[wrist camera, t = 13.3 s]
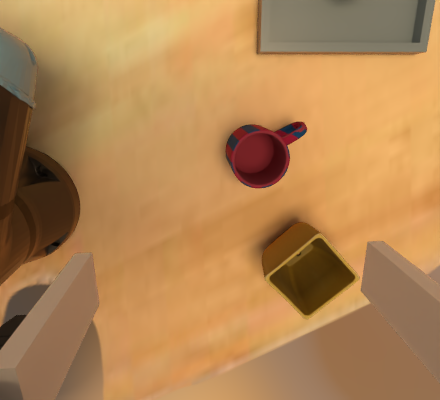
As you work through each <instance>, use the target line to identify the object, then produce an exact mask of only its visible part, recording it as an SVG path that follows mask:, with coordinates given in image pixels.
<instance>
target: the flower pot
mask: <svg viewBox="0 0 440 400" xmlns="http://www.w3.org/2000/svg"><path fill="white" fill-rule="evenodd" d="M299 252H300V255H297V254H298V253H299ZM262 266H263V272H264V277H265V281H266V282H267V283H268V284H269V285H270V286H271V287H273V288H274V289H275V290H276V291H277V292H278V293H279V294H280V295H281V296H282V297H283V298H284V299H285V300H286V301H287V302H288V303H289V304H290V305H291V306H292V307H293V308H294V309H295V310H296V311H297V312H298V313H299V314H300V315H301V316H302V317H303V318H305V319H309V318H311V317H312V316H313V315H315V314H316V313H317V312H318V311H320V310H321V309H322V308H323V307H325V306H326V305H327V304H329V303H330V302H331V301H332V300H334V299H335V298H336V297H338V296H339V295H340V294H342V293H343V292H344V291H346V290H347V289H348V288H349V287H351V286H352V285H353V284H355V283H356V282H357V281H358V280H359V279H360V277H359V275H358V274H357V273H356V272H355V271H354V270H353V268H352V267H351V266H350V265H349V264H348V263H347V262H346V261H345V260H344V258H343V257H342V256H341V255H340V254H339V253H338V252H337V250H336V249H335V248H334V247H333V246H332V245H331V243H330V242H329V241H328V240H327V239H326V238H325V237H324V235H323V234H321V233H320V232H319V231H317V230H316V229H315V228H313V227H312V226H310V225H309V224H307V223H304V222H300V223H296V224H294V225H293V226H291V227H290V228H289V229H288V230H287V231H286V232H284V233H283V234H282V235H281V236H280V237H278V238H277V239H276V240H275V241H274V242H272V243H271V244H270V245H269V246H268V247H267V248H266V249H265V251H264V253H263V255H262Z"/></svg>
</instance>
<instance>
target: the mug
mask: <svg viewBox="0 0 440 400" xmlns="http://www.w3.org/2000/svg"><path fill="white" fill-rule="evenodd" d="M306 131H307V127H306V125H305V124H304V122H295V123H292V124H290V125H288V126H286V127H284V128H282V129H280V130H278V131H276V132H272V131H270V130H268V129H266V128H264V127H261V126H258V125H245V126H242V127H240V128H238V129H237V130H236V131H234V132H233V134H232V135H231V136H230V138H229V139H228V142H227V145H226V157H227V160H228V162H229V164H230V166H231V168H232V170H233V172H234V174H235V176H236V177H237V178H238V180H239V181H240V182H242V183H243V184H245V185H246V186H249V187H252V188H266V187H269V186H272V185H273V184H275V183H277V182H278V181H279V180H280V179H281V178H282V177H283V176H284V174H285V173H286V171H287V169H288V166H289V161H290V154H289V149H288V146H287V145H289V144H291V143H292V142H294V141H296V140H297V139H299V138H300V137H302V136H303V135H304V134H305V133H306Z"/></svg>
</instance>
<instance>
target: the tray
mask: <svg viewBox="0 0 440 400" xmlns="http://www.w3.org/2000/svg"><path fill="white" fill-rule="evenodd" d="M434 5H435V0H258V34H257V54H419V53H424V52H426V51H427V45H428V40H429V34H430V28H431V22H432V16H433V11H434Z"/></svg>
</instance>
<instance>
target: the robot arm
mask: <svg viewBox="0 0 440 400" xmlns="http://www.w3.org/2000/svg"><path fill="white" fill-rule="evenodd" d="M37 71H38V63H37V59H36V56H35V54H34V53H33V51H32V50H31V48H30V47H29V46H28V45H27V44H26V43H25V42H24V41H22V40H21V39H19V38H18V37H16V36H14V35H13V34H11V33H9V32H7V31H5V30H4V29H2V28H0V285H1V284H2V283H3V282H4V281H5V280H6V279H7V278H8V277H10V276H11V275H12V274H13V273H14V272H15V271H16V270H17V269H18V268H19V267H20V266H21V265H22V264H25V263H28V262H31V261H34V260H37V259H39V258H42V257H45V256H47V255H49V254H51V253H52V252H54V251H55V250H57V249H58V248H59V247H60V246H61V245H62V244H63V243H64V242H65V241H66V240H67V239H68V238H69V237H70V235H71V234H72V233H73V231H74V229H75V227H76V225H77V222H78V219H79V213H80V203H79V197H78V193H77V190H76V188H75V185H74V183H73V181H72V180H71V178H70V177H69V175H68V174H67V172H66V171H65V170H64V169H63V168H62V167H61V166H60V165H59V164H58V163H57V162H56V161H54V160H53V159H52V158H50V157H49V156H47V155H45V154H43V153H42V152H39V151H37V150H34V149H32V148H28V147H26V141H27V136H28V131H29V126H30V120H31V115H32V110H33V109H35V107H36V103H35V101H34V94H35V86H36V79H37ZM361 292H362V293H363V294H364V295H365V296H366V298H367V299H368V300H369V301H370V302H371V303H372V304H373V306H374V307H375V308H376V309H377V310H378V312H379V313H380V314H381V315H382V316H383V317H384V319H385V320H386V321H387V322H388V323H389V325H390V326H391V327H392V328H393V329H394V330H395V331H396V333H397V334H398V335H399V336H400V337H401V339H402V340H403V341H404V342H405V343H406V344H407V346H408V347H409V348H410V349H411V350H412V351H413V353H414V354H415V355H416V356H417V357H418V358H419V360H420V361H421V362H422V363H423V364H424V365H425V367H426V368H427V369H428V370H429V371H430V372H431V374H432V375H433V376H434V377H435V378H436V380H437V381H438V382H439V383H440V285H439V284H438V283H437V282H435V281H434V280H433V279H432V278H430V277H429V276H428V275H426V274H425V273H424V272H422V271H421V270H420V269H419V268H417V267H416V266H415V265H413V264H412V263H411V262H409V261H408V260H407V259H406V258H404V257H403V256H402V255H400V254H399V253H398V252H396V251H395V250H394V249H392V248H391V247H390V246H389V245H387V244H386V243H385V242H383V241H373V242H368V243H367V250H366V257H365V264H364V271H363V278H362V285H361ZM98 306H99V297H98V290H97V283H96V276H95V269H94V262H93V255H92V253H75V254H74V255H73V257H72V258H71V259H70V261H69V262H68V263H67V264H66V266H65V267H64V268H63V270H62V271H61V272H60V273H59V275H58V276H57V277H56V279H55V280H54V281H53V283H52V284H51V285H50V286H49V288H48V289H47V290H46V292H45V293H44V294H43V295H42V297H41V298H40V299H39V301H38V302H37V303H36V304H35V306H34V307H33V309H32V310H31V311H30V312H29V314H28V315H18V316H17V315H16V316H15V317H13V318H12V319H11V320H9V321H8V322H6V323H5V324H3V325H2V326H1V327H0V400H55V398H56V396H57V394H58V392H59V390H60V387H61V385H62V383H63V381H64V379H65V376H66V375H67V372H68V370H69V368H70V366H71V364H72V362H73V359H74V357H75V355H76V353H77V351H78V349H79V347H80V345H81V342H82V340H83V338H84V336H85V334H86V332H87V329H88V327H89V325H90V323H91V321H92V319H93V317H94V314H95V312H96V310H97V308H98Z"/></svg>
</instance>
